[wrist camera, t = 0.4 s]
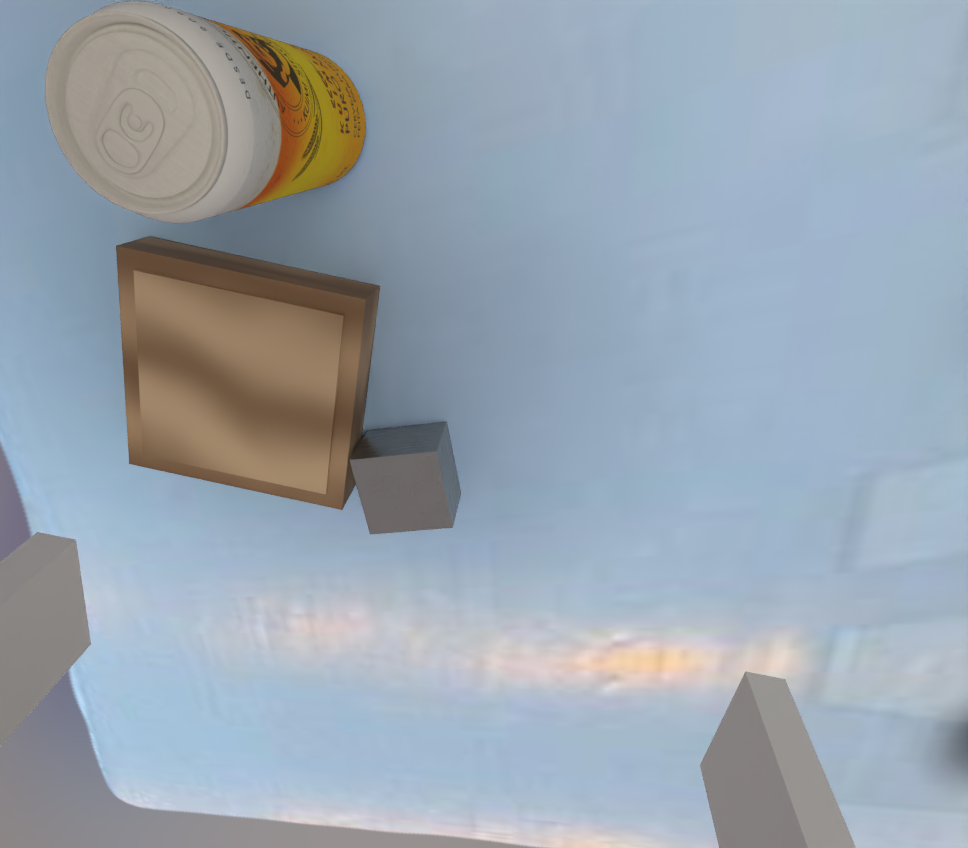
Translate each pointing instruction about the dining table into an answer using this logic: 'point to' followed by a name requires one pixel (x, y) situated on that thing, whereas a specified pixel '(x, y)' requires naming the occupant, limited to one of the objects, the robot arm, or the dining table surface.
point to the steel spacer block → (407, 478)
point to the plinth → (244, 369)
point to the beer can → (196, 113)
